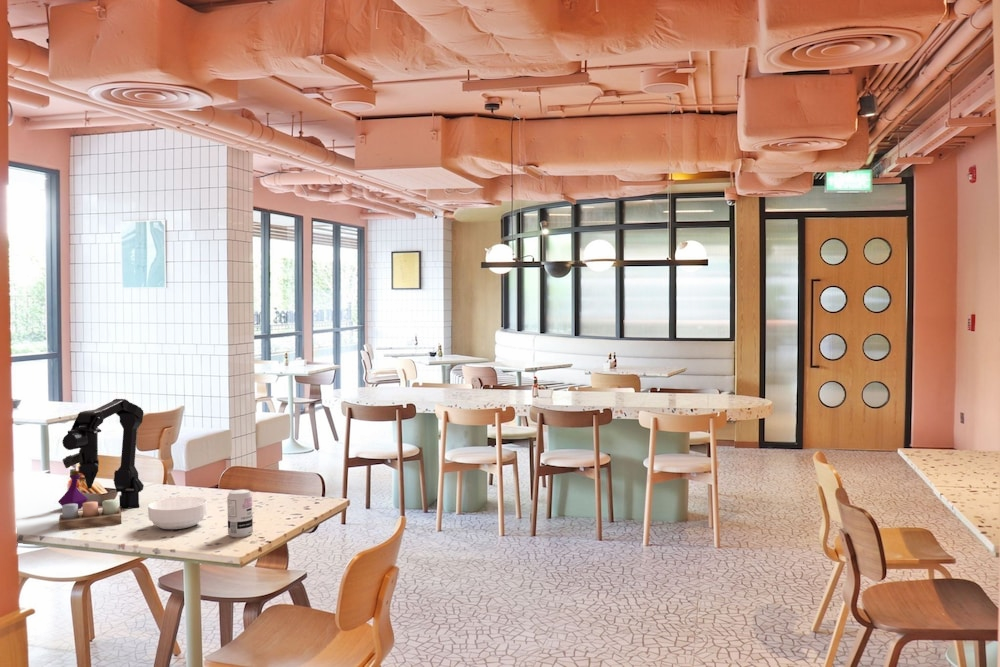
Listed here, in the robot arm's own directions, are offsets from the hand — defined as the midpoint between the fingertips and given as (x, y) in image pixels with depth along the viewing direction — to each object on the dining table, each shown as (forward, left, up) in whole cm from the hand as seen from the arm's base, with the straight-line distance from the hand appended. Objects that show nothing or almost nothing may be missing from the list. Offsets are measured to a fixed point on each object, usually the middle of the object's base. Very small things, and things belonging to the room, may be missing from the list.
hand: (89, 488), depth 295 cm
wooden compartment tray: (0, +1, -13) cm, 13 cm away
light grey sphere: (+6, +1, -10) cm, 12 cm away
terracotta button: (0, +1, -10) cm, 10 cm away
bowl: (-28, +21, -13) cm, 37 cm away
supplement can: (-46, +43, -13) cm, 64 cm away
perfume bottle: (+6, -27, -13) cm, 30 cm away
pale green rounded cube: (-7, +1, -10) cm, 12 cm away
